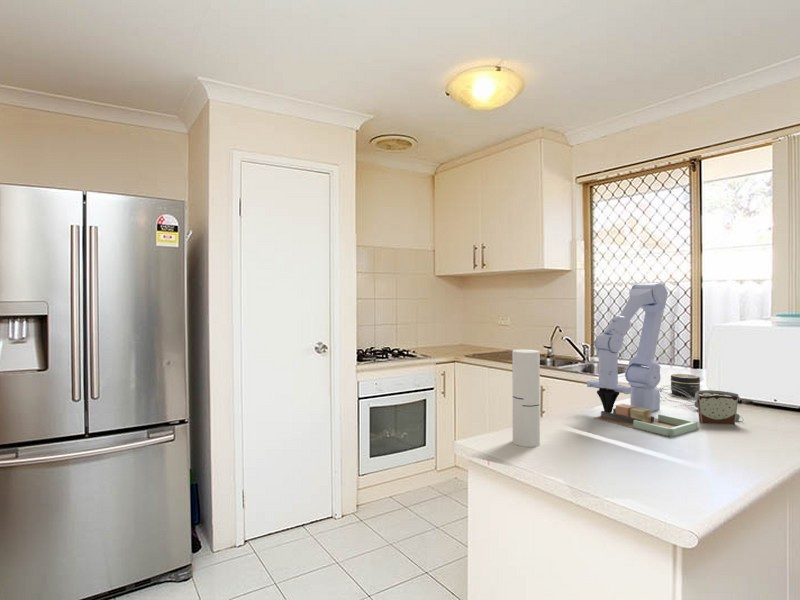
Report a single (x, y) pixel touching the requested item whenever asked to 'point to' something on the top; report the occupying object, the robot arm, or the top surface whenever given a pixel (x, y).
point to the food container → (717, 406)
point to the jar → (685, 384)
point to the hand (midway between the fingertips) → (608, 412)
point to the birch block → (641, 414)
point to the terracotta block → (624, 410)
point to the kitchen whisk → (689, 401)
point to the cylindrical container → (526, 397)
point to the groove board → (631, 421)
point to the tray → (682, 428)
